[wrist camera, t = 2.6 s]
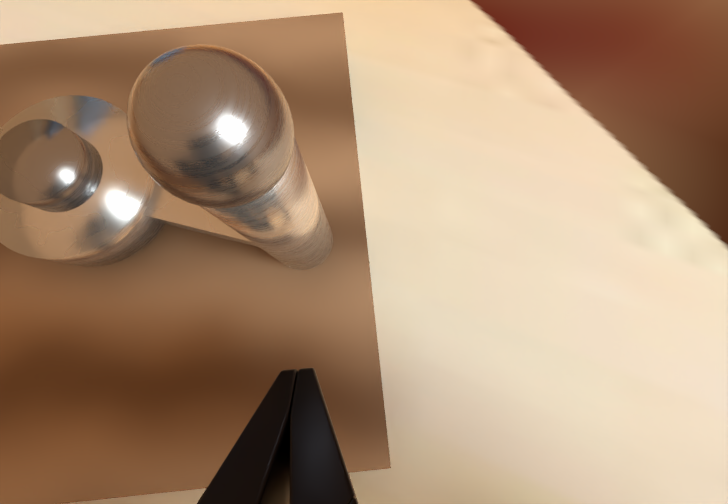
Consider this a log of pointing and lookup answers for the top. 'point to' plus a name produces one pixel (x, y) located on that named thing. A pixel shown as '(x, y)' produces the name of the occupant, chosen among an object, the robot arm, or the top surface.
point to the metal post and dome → (162, 166)
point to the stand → (184, 296)
